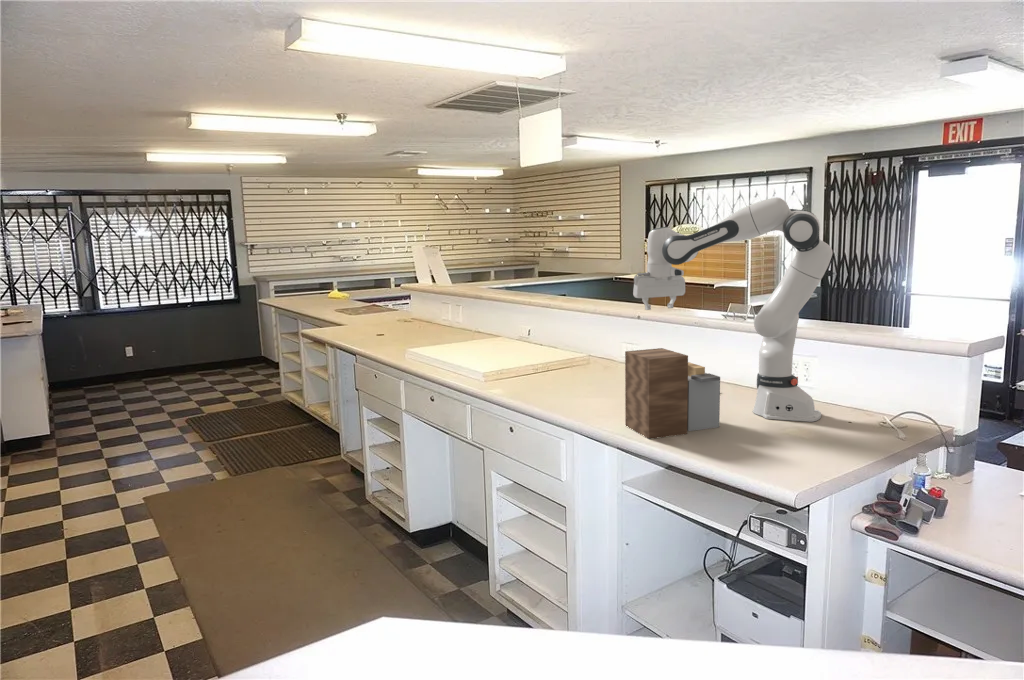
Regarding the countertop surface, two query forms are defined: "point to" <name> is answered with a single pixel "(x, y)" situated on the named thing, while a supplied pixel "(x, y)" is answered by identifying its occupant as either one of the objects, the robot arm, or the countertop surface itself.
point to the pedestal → (656, 392)
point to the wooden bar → (700, 373)
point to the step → (703, 404)
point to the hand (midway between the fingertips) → (659, 309)
